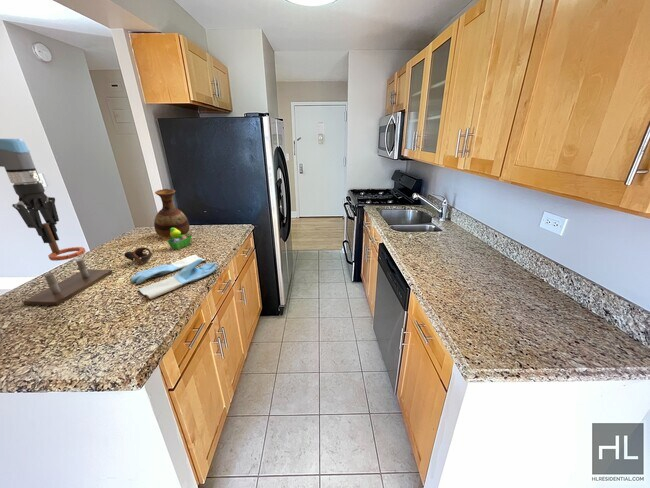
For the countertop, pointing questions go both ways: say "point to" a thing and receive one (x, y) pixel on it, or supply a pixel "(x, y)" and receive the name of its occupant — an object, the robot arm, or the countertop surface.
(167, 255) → the countertop surface
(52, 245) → the ring
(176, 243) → the fruit basket
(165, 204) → the brown pottery vase
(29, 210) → the robot arm
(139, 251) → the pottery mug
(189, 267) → the rubber gloves
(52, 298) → the rack
